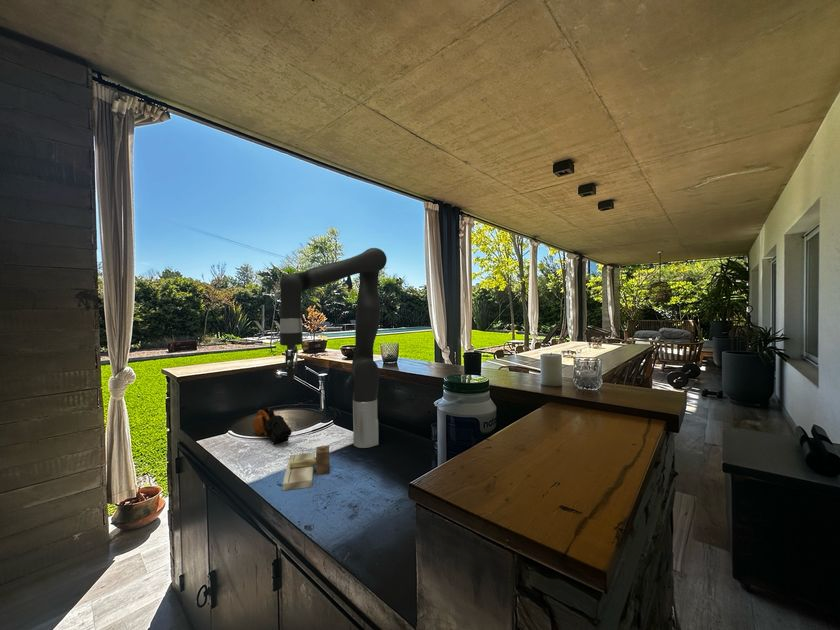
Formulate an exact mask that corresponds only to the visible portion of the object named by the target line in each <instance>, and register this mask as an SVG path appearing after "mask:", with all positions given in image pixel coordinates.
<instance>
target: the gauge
mask: <svg viewBox="0 0 840 630" xmlns="http://www.w3.org/2000/svg"><path fill="white" fill-rule="evenodd" d="M311 465H314V466H316V467H315V471H316V472H315V473H316V475H315V476H321V475H329V474H330V473H331V472H330V470H331V469H330V445H321V446H316V449H315V459H309V460H301V461H292V462H290V468H294V467H303V466H311Z"/></svg>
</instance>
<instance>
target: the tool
mask: <svg viewBox="0 0 840 630" xmlns="http://www.w3.org/2000/svg"><path fill="white" fill-rule="evenodd" d="M252 425H253V426H252V427H253V430H254V432H255V433H256V435H257V436H258V435H259V436H261V435H264V436H265V437H266V438H267V439H268V440H269V441H270V442H271V444H273V446H276V445H281V444H284V443H286V442H289V438H290V436H291V435H292V429H291V428H290V427H289V425H288V424H287V422H286V421H285V419H284V417H283V416H282V415H279V414H275V412H274V409H272V408H271V409H270V408H269V407H268V406H266V407H263V408H260V409H259V410H258V411H257V413H256V417H255V418H253V420H252ZM262 433H263V434H262Z"/></svg>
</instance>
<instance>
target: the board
mask: <svg viewBox="0 0 840 630" xmlns="http://www.w3.org/2000/svg"><path fill="white" fill-rule="evenodd" d="M309 459H316V451H314V452H306V453H299V454H290V455H289V458H288V462H287V465H286V469H285V473H284V477H283V480H282V481H283V482H282V491H283V492H284V491H291V490H298V489H304V488H312V486H313V479H314V478H313V477H314V469H315V465H311V466H303V467H294V468H290V462H292V461H301V460H309Z"/></svg>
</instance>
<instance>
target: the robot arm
mask: <svg viewBox="0 0 840 630" xmlns="http://www.w3.org/2000/svg"><path fill="white" fill-rule="evenodd" d="M387 262H388V259H387V254H386V253H385V252H384V251H383V250H382V249H380V248H377V247H370V248H368V249H366V250H364V251H363V252H361V253H359V254H357V255H354V256H352V257H350V258H349V257H348V258H345V259H342V260H338V261H335V262H330V263H325V264H322V265H318V266H313V267H311V268H308V269H307V270H305V271H301V272H297V273H294V274H293V273H288V274H285V275H283V276H282V277H281V279H280V280H279V289H280V291H279V293H280V310H279V311H280V313H279V317H280V319H279V321H280V322H279V345H280V346H286V349H285V351H284V356H285V357H284V362H285V364H284V365H285V368H286V379H287V380H289V381H291V380H294V379H295V375H297V364H298V359H299V358H298V355H299V350H298V346H301V345H303V321H302V304H301V303H302V292H305V291H307V290H310V289H314V288H319V287H322V286H325V285H328V284H332V283H334V282H337V281H341V280H343V279H345V278H348V277H350V276H351V277H352V276H354V275H357V274H358V275H359V286H358V292H357V299H356V300H357V301H356V309H355V311H356V312H355V326H354V327H355V333H354V334H355V335H354V336H355V339H354V340H355V345H354V351H353V357H352V361H351V369H350V370H351V373H352V375H353V381H354V384H353V393H352V422H353V423H352V424H353V425H352V426H353V428H352V429H353V431H352V433H353V434H352V437H353V439H352V440H353V442H352V445H353V446H354V447H355V448H359V449H366V448H372V447H375V446H378V445H379V419H378V394H379V393H378V392H379V381H380V380H379V378H380V377H379V366H378V364H377V362H376V361H374V345H375V342H376V337H377V334H378V330H379V327H380V322H381V321H380V320H381V300H380V295H379V291H378V290H379V288H378V283H379V275H380V271H382V270H383V269H384V268H385V267H386V265H387Z"/></svg>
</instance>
